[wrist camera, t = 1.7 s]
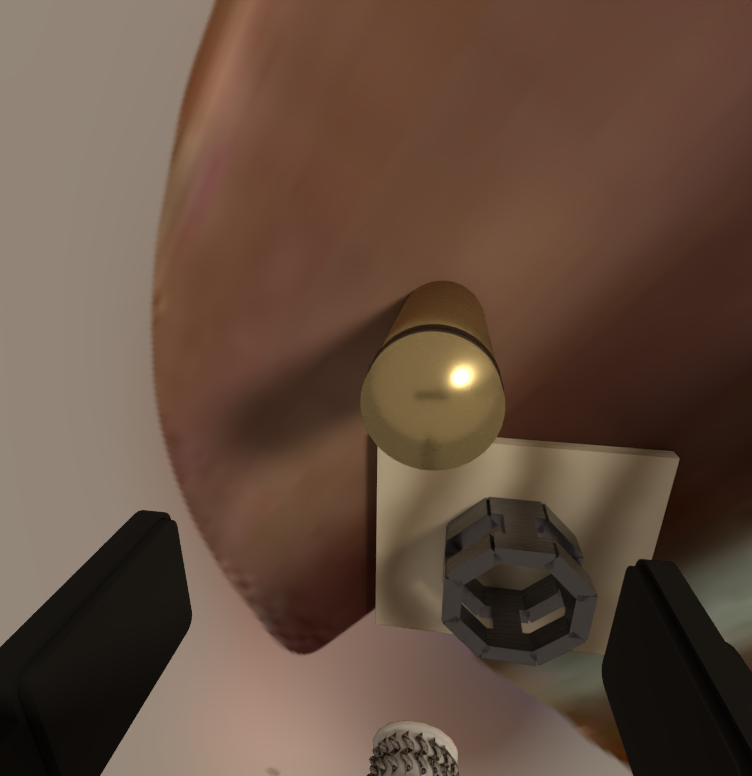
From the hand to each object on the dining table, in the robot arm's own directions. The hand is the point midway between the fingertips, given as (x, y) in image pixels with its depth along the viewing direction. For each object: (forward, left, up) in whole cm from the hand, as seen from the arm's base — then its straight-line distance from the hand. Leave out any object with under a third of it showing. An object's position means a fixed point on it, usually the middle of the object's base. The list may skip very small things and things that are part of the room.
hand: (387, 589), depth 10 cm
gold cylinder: (0, 0, -23) cm, 23 cm away
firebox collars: (-6, +17, -23) cm, 30 cm away
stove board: (-6, +17, -23) cm, 30 cm away
